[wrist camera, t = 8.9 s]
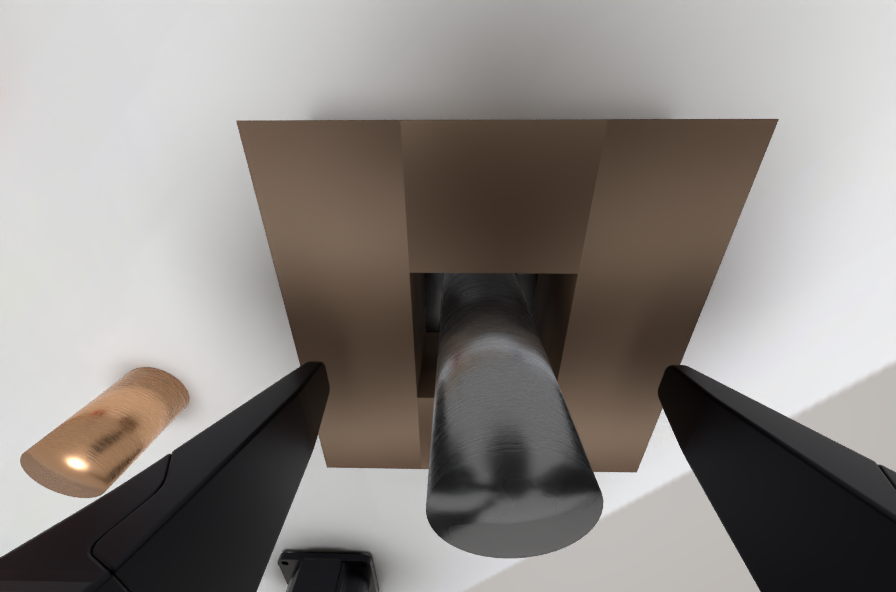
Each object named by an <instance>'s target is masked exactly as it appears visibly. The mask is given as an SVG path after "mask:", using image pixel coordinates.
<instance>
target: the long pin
mask: <svg viewBox="0 0 896 592" xmlns="http://www.w3.org/2000/svg"><path fill="white" fill-rule="evenodd" d="M602 509H603V497H602V493H601V490H600V488H599V485H598V483H597V480H596V478H595V475H594V473H593V470H592V468H591V465H590V463H589V460H588V458H587V455H586V453H585V450H584V448H583V445H582V443H581V440H580V438H579V435H578V433H577V430H576V428H575V425H574V423H573V420H572V418H571V415H570V412H569V410H568V407H567V405H566V402H565V400H564V397H563V395H562V392H561V390H560V387H559V385H558V382H557V380H556V377H555V375H554V372H553V370H552V367H551V365H550V362H549V360H548V357H547V355H546V352H545V350H544V347H543V345H542V342H541V340H540V337H539V335H538V332H537V330H536V327H535V324H534V322H533V319H532V317H531V314H530V312H529V309H528V307H527V304H526V302H525V299H524V297H523V294H522V292H521V289H520V287H519V284H518V282H517V279H516V277H515V274H514V273H445V276H444V280H443V290H442V303H441V317H440V330H439V343H438V356H437V370H436V383H435V396H434V409H433V423H432V436H431V449H430V462H429V475H428V489H427V502H426V514H427V519H428V521H429V524H430V525H431V527H432V529H433V530H434V531H435V532H436V533H437V534H438V536H440V537H441V538H442V539H443V540H445V541H446V542H448V543H449V544H451V545H453V546H455V547H457V548H459V549H461V550H464V551H466V552H469V553H473V554H476V555H481V556H486V557H494V558H525V557H532V556H538V555H543V554H547V553H550V552H554V551H557V550H559V549H562V548H564V547H567V546H569V545H571V544H573V543H574V542H576V541H578V540H579V539H581V538H582V537H583V536H585V535H586V534H587V533H588V532H589V531H590V530H591V529H592V528H593V527H594V526H595V524H596V523H597V522H598V520H599V518H600V516H601V513H602Z"/></svg>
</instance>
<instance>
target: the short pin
mask: <svg viewBox="0 0 896 592" xmlns="http://www.w3.org/2000/svg"><path fill="white" fill-rule="evenodd" d="M188 403H189V394H188V392H187V390H186V388H185V387H184V385H183V384H182V383H181V382H180V381H179V380H178V379H176V378H175V377H173V376H172V375H170V374H168V373H166V372H164V371H162V370H159V369H155V368H148V367H142V368H137V369H134V370H132V371H131V372H129V373H128V374H127V375H125V376H124V377H123V378H121V379H120V380H119V381H118V382H116V383H115V384H114V385H112V386H111V387H110V388H108V389H107V390H106V391H104V392H103V393H102V394H100V395H99V396H98V397H97V398H95V399H94V400H93V401H91V402H90V403H89V404H87V405H86V406H85V407H83V408H82V409H81V410H79V411H78V412H77V413H76V414H74V415H73V416H72V417H70V418H69V419H68V420H66V421H65V422H64V423H62V424H61V425H60V426H58V427H57V428H56V429H55V430H53V431H52V432H51V433H49V434H48V435H47V436H45V437H44V438H43V439H41V440H40V441H39V442H37V443H36V444H35V445H34V446H32V447H31V448H30V449H28V450H27V451H26V452H24V453H23V454H22V456H21V458H20V462H21V466H22V468H23V469H24V471H25V472H26V473H27V474H28V475H29V476H30V477H31V478H32V479H33V480H35V481H36V482H37V483H39V484H41V485H42V486H44V487H46V488H48V489H50V490H52V491H55V492H58V493H61V494H64V495H67V496H72V497H79V498H92V497H97V496H100V495H102V494H103V493H104V492H105V491H106V490H107V489H108V488H109V487H110V486H111V485H112V484H113V483H114V482H115V481H116V480H117V479H118V478H119V477H120V476H121V475H122V473H123V472H124V471H125V470H126V469H127V468H128V467H129V466H130V465H131V464H132V463H133V462H134V461H135V460H136V459H137V458H138V457H139V456H140V455H141V454H142V452H143V451H144V450H145V449H146V448H147V447H148V446H149V445H150V444H151V443H152V442H153V441H154V440H155V439H156V438H157V437H158V436H159V435H160V434H161V433H162V432H163V430H164V429H165V428H166V427H167V426H168V425H169V424H170V423H171V422H172V421H173V420H174V419H175V418H176V417H177V416H178V415H179V414H180V413H181V412H182V411H183V409H184V408H185V407H186V406H187V405H188Z"/></svg>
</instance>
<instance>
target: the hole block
mask: <svg viewBox="0 0 896 592" xmlns="http://www.w3.org/2000/svg"><path fill="white" fill-rule="evenodd" d="M778 120H779V119H613V120H287V121H237V125H238V129H239V133H240V137H241V140H242V144H243V148H244V152H245V156H246V159H247V163H248V167H249V171H250V175H251V179H252V182H253V186H254V190H255V194H256V198H257V202H258V205H259V209H260V213H261V217H262V221H263V224H264V228H265V232H266V236H267V240H268V244H269V247H270V251H271V255H272V259H273V263H274V266H275V270H276V274H277V278H278V282H279V286H280V289H281V293H282V297H283V301H284V305H285V309H286V312H287V316H288V320H289V324H290V328H291V331H292V335H293V339H294V343H295V347H296V351H297V354H298V358H299V362H300V366H302V365H303V364H305V363H306V362H309V361H321V362H323V363H324V364H325V366H326V371H327V375H328V380H329V385H330V392H329V396H328V400H327V404H326V407H325V411H324V414H323V418H322V422H321V425H320V429H319V432H318V435H319V438H320V442H321V446H322V450H323V454H324V458H325V461H326V465H327V467H336V468H398V469H429V462H430V449H431V436H432V423H433V409H434V396H435V383H436V370H437V356H438V343H439V332H426V313H425V288H424V273H538V276H537V284H536V291H535V299H534V306H533V314H532V319H533V322H534V324H535V327H536V330H537V332H538V335H539V337H540V340H541V342H542V345H543V347H544V350H545V352H546V355H547V357H548V360H549V362H550V365H551V367H552V370H553V372H554V375H555V377H556V380H557V382H558V385H559V387H560V390H561V392H562V395H563V397H564V400H565V402H566V405H567V407H568V410H569V412H570V415H571V418H572V420H573V423H574V425H575V428H576V430H577V433H578V435H579V438H580V440H581V443H582V445H583V448H584V450H585V453H586V455H587V458H588V460H589V463H590V465H591V468H592V470H593V472H637V470H638V468H639V465H640V463H641V460H642V458H643V455H644V453H645V450H646V448H647V445H648V443H649V440H650V438H651V435H652V433H653V430H654V428H655V425H656V423H657V420H658V418H659V415H660V413H661V410H662V408H663V407H662V405H661V403H660V400H659V398H658V387H659V384H660V382H661V379H662V377H663V374H664V371H665V369H666V368H667V367H668V366H670V365H680V363H681V361H682V358H683V356H684V353H685V351H686V348H687V346H688V343H689V341H690V338H691V336H692V333H693V331H694V328H695V326H696V323H697V321H698V318H699V316H700V314H701V311H702V309H703V306H704V304H705V301H706V299H707V296H708V294H709V291H710V289H711V286H712V284H713V281H714V279H715V276H716V274H717V271H718V269H719V266H720V264H721V261H722V259H723V256H724V254H725V251H726V249H727V246H728V244H729V241H730V239H731V236H732V234H733V232H734V229H735V227H736V224H737V222H738V219H739V217H740V214H741V212H742V209H743V207H744V204H745V202H746V199H747V197H748V194H749V192H750V189H751V187H752V184H753V182H754V179H755V177H756V174H757V172H758V169H759V167H760V164H761V162H762V159H763V157H764V154H765V152H766V150H767V147H768V145H769V142H770V140H771V137H772V135H773V132H774V130H775V127H776V125H777V122H778Z"/></svg>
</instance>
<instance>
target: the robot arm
mask: <svg viewBox="0 0 896 592" xmlns="http://www.w3.org/2000/svg"><path fill="white" fill-rule="evenodd" d="M329 392H330V385H329V380H328V375H327V371H326V366H325V364H324V363H323V362H321V361H309V362H306V363H305V364H303V365H302V366H300V367H299V368H297V369H296V370H294V371H293V372H291V373H290V374H288V375H287V376H285V377H284V378H282V379H280V380H279V381H277V382H276V383H274V384H273V385H271V386H270V387H268V388H267V389H265V390H264V391H262V392H261V393H259V394H258V395H256V396H255V397H253V398H252V399H250V400H249V401H247V402H246V403H244V404H243V405H241V406H240V407H238V408H237V409H235V410H234V411H232V412H231V413H229V414H228V415H226V416H225V417H223V418H222V419H220V420H219V421H217V422H216V423H214V424H213V425H211V426H210V427H208V428H207V429H205V430H204V431H202V432H201V433H199V434H198V435H196V436H195V437H193V438H192V439H190V440H189V441H187V442H186V443H184V444H183V445H181V446H180V447H178V448H177V449H175V450H174V451H173V452H172V454H168V455H166V456H165V457H163V458H162V459H160V460H159V461H157V462H156V463H154V464H153V465H151V466H150V467H148V468H147V469H145V470H143V471H142V472H140V473H139V474H137V475H136V476H134V477H133V478H131V479H129V480H128V481H126V482H125V483H123V484H122V485H120V486H119V487H117V488H115V489H114V490H112V491H110V492H109V493H107V494H106V495H104V496H102V497H101V498H99V499H97V500H96V501H94V502H92V503H91V504H89V505H88V506H86V507H84V508H83V509H81V510H79V511H78V512H76V513H74V514H73V515H71V516H69V517H68V518H66V519H64V520H62V521H61V522H59V523H57V524H56V525H54V526H52V527H51V528H49V529H47V530H46V531H44V532H42V533H41V534H39V535H37V536H36V537H34V538H32V539H31V540H29V541H27V542H26V543H24V544H22V545H20V546H19V547H17V548H15V549H14V550H12V551H10V552H9V553H7V554H5V555H4V556H2V557H0V592H257V589H258V587H259V584H260V582H261V579H262V577H263V574H264V572H265V569H266V567H267V564H268V562H269V559H270V557H271V554H272V552H273V549H274V547H275V544H276V542H277V539H278V537H279V534H280V532H281V529H282V527H283V524H284V522H285V519H286V517H287V514H288V512H289V509H290V507H291V504H292V502H293V499H294V497H295V494H296V492H297V489H298V487H299V484H300V482H301V479H302V477H303V474H304V472H305V469H306V467H307V465H308V462H309V460H310V457H311V454H312V452H313V449H314V446H315V443H316V439H317V436H318V432H319V429H320V425H321V422H322V418H323V414H324V411H325V407H326V404H327V400H328V396H329ZM658 398H659V400H660V403H661V405H662V407H663V409H664V412H665V414H666V416H667V418H668V421H669V423H670V425H671V428H672V430H673V432H674V434H675V437H676V439H677V441H678V443H679V446H680V448H681V450H682V452H683V454H684V456H685V458H686V460H687V461H688V463H689V465H690V467H691V469H692V470H693V472H694V474H695V476H696V477H697V479H698V481H699V483H700V485H701V486H702V488H703V490H704V492H705V494H706V495H707V497H708V499H709V501H710V502H711V504H712V506H713V508H714V510H715V511H716V513H717V515H718V517H719V518H720V520H721V522H722V524H723V526H724V527H725V529H726V531H727V533H728V534H729V536H730V538H731V540H732V541H733V543H734V545H735V547H736V548H737V550H738V552H739V554H740V556H741V557H742V559H743V561H744V563H745V565H746V566H747V568H748V570H749V572H750V573H751V575H752V577H753V579H754V581H755V582H756V584H757V586H758V588H759V590H760V591H761V592H896V472H894V471H892V470H890V469H888V468H886V467H884V466H882V465H877V464H876V463H875V462H874V461H872V460H871V459H869V458H867V457H865V456H863V455H861V454H859V453H857V452H855V451H853V450H851V449H849V448H847V447H845V446H843V445H841V444H839V443H837V442H835V441H833V440H831V439H829V438H827V437H825V436H823V435H821V434H820V433H818V432H815V431H814V430H812V429H810V428H808V427H806V426H804V425H802V424H800V423H798V422H796V421H794V420H792V419H790V418H788V417H786V416H784V415H782V414H780V413H778V412H776V411H774V410H772V409H771V408H769V407H767V406H765V405H763V404H761V403H759V402H757V401H755V400H753V399H751V398H749V397H747V396H745V395H743V394H741V393H739V392H737V391H735V390H733V389H731V388H729V387H727V386H725V385H723V384H722V383H720V382H718V381H716V380H714V379H712V378H710V377H708V376H706V375H704V374H702V373H700V372H698V371H696V370H694V369H692V368H690V367H688V366H685V365H670V366H668V367H667V368H666V369H665V371H664V374H663V377H662V379H661V382H660V384H659V387H658ZM278 564H279V567H280V569H281V571H282V573H283V575H284V578H285V580H286V582H287V584H288V587H287V590H286V592H379V591H378V586H377V581H376V576H375V571H374V567H373V562H372V558H371V557H370V556H369V555H364V554H318V553H282V554H281V555H280V557H279V560H278Z"/></svg>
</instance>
